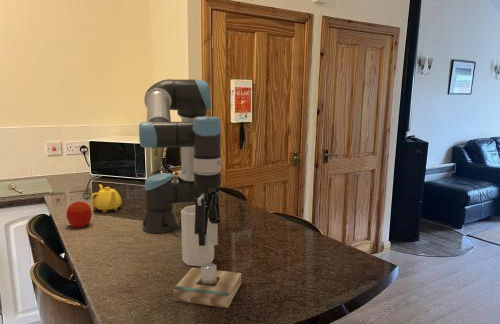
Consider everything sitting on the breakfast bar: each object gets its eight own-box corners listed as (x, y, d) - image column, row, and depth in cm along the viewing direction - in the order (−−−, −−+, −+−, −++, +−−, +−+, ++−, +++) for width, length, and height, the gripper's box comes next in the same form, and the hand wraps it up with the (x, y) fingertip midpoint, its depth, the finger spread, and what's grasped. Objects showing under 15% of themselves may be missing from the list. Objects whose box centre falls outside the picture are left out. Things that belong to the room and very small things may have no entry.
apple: (96, 225, 168) (94, 200, 166) (73, 231, 161) (71, 205, 159) (86, 220, 175) (84, 196, 173) (63, 225, 168) (61, 200, 166)
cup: (200, 269, 127) (199, 216, 124) (175, 261, 133) (174, 210, 130) (220, 257, 136) (220, 208, 133) (196, 251, 142) (195, 203, 139)
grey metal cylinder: (198, 294, 111) (198, 268, 110) (204, 287, 116) (204, 262, 114) (213, 297, 110) (213, 271, 109) (219, 289, 114) (218, 264, 113)
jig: (173, 300, 108) (173, 287, 107) (192, 277, 121) (192, 266, 121) (227, 307, 104) (227, 295, 104) (241, 283, 118) (241, 272, 117)
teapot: (84, 207, 195) (83, 186, 193) (113, 202, 204) (112, 181, 202) (98, 217, 180) (96, 193, 178) (128, 211, 189) (127, 189, 187)
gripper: (207, 180, 96) (208, 266, 100) (230, 166, 116) (230, 238, 120) (180, 179, 98) (182, 263, 102) (207, 165, 117) (208, 236, 121)
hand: (208, 249), depth 111 cm, fingers open, 8 cm apart
